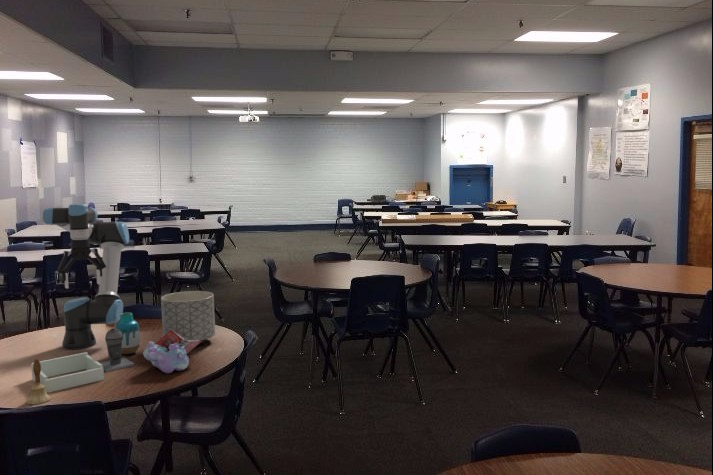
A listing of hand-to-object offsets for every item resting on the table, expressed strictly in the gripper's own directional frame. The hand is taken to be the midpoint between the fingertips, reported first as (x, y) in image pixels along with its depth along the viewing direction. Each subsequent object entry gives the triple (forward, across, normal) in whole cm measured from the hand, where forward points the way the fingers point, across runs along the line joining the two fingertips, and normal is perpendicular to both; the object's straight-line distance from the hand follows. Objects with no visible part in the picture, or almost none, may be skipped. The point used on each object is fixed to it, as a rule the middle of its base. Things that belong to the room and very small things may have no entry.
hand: (83, 286), depth 268 cm
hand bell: (+35, -29, -37) cm, 59 cm away
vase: (+35, +18, -1) cm, 39 cm away
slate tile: (+35, +7, -15) cm, 38 cm away
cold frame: (+35, -14, -20) cm, 42 cm away
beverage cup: (+34, +7, -15) cm, 38 cm away
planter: (+35, +47, -5) cm, 59 cm away
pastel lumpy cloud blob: (+35, +24, -35) cm, 55 cm away
